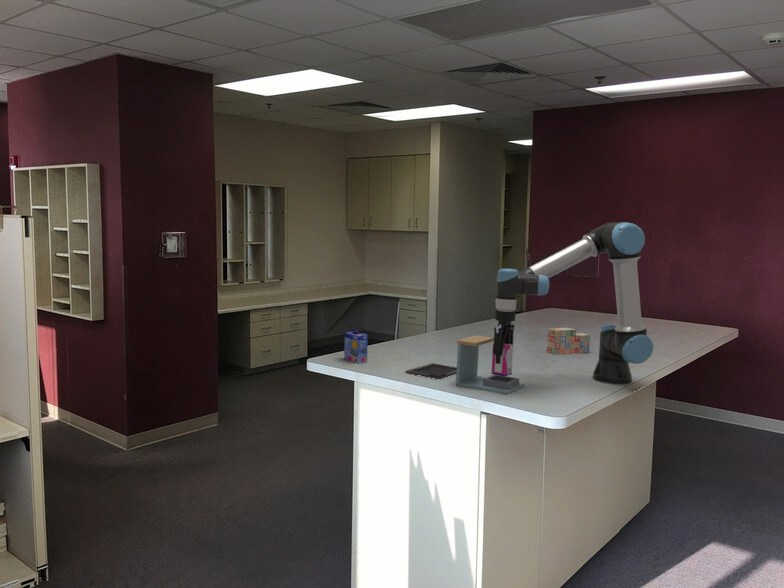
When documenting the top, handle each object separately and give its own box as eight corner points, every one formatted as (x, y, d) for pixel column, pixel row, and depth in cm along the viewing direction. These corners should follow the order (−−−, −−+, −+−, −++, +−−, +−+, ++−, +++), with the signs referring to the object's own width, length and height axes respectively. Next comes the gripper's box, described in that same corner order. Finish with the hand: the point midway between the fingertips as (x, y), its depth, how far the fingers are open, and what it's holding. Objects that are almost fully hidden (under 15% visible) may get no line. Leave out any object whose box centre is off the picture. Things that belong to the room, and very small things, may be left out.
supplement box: (498, 371, 254) (500, 342, 253) (512, 374, 250) (514, 344, 249) (490, 373, 249) (492, 343, 248) (504, 376, 246) (506, 346, 245)
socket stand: (523, 386, 254) (526, 342, 252) (507, 394, 241) (510, 348, 239) (473, 377, 265) (475, 335, 264) (454, 384, 252) (457, 340, 250)
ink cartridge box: (343, 359, 290) (344, 327, 288) (352, 358, 294) (353, 326, 292) (358, 363, 283) (359, 330, 281) (367, 362, 287) (368, 329, 285)
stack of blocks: (580, 350, 336) (582, 326, 335) (589, 353, 330) (591, 328, 329) (546, 352, 327) (548, 328, 326) (554, 355, 321) (556, 330, 320)
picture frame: (439, 381, 259) (464, 372, 277) (439, 376, 259) (465, 367, 276) (405, 374, 268) (432, 366, 286) (405, 369, 268) (432, 362, 285)
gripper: (506, 306, 257) (502, 365, 260) (485, 311, 241) (482, 373, 244) (524, 308, 253) (520, 368, 256) (504, 313, 237) (500, 376, 240)
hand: (501, 370), depth 250 cm, fingers closed on supplement box, 6 cm apart
